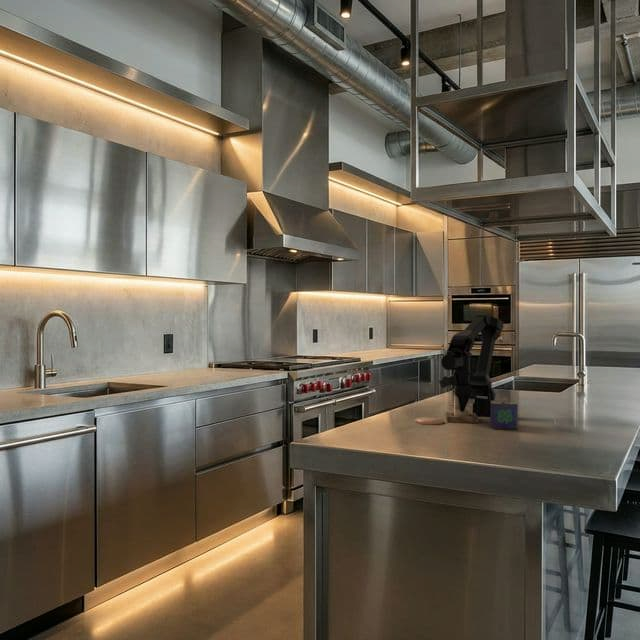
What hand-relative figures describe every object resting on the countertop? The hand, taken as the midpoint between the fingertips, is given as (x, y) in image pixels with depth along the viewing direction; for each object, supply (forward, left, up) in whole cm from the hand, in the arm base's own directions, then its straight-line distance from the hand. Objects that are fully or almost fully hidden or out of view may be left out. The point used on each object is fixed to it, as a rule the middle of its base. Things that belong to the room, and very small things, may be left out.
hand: (461, 410), depth 231 cm
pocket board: (0, 0, -4) cm, 4 cm away
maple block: (0, 0, -4) cm, 4 cm away
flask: (-13, +16, -4) cm, 21 cm away
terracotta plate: (+12, +7, -4) cm, 14 cm away
